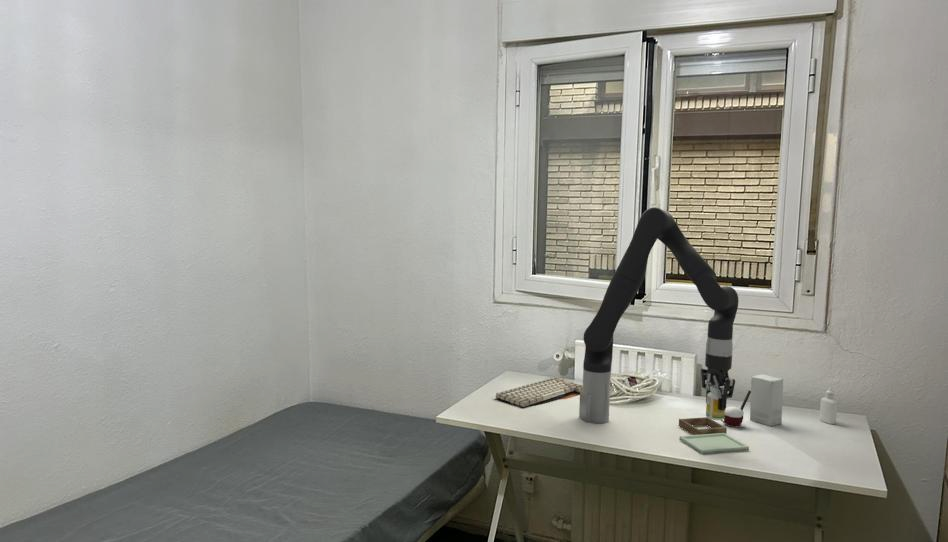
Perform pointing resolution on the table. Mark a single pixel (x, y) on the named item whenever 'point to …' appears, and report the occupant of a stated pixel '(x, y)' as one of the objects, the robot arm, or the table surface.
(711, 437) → the tray
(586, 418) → the robot arm
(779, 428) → the table surface
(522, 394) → the mechanical keyboard
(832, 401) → the eye dropper bottle
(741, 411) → the cocoa
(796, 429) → the table surface
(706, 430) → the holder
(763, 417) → the skincare box
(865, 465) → the table surface
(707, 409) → the supplement bottle
